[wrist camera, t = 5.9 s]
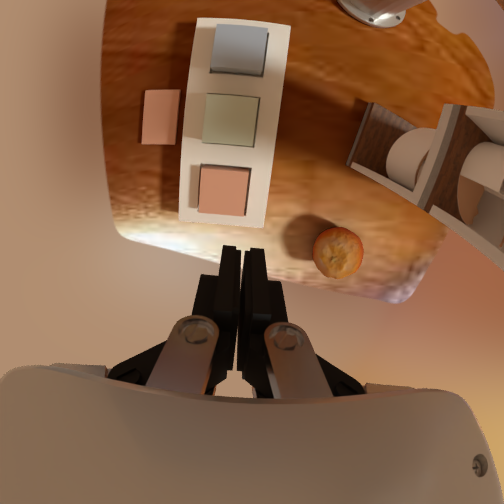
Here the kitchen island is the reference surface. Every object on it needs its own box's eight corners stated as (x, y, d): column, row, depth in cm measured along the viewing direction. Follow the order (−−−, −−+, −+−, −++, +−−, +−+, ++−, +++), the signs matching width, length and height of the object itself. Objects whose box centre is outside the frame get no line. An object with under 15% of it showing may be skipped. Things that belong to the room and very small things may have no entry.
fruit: (358, 270, 45) (350, 292, 39) (317, 255, 48) (302, 274, 42) (372, 227, 41) (367, 243, 35) (328, 212, 44) (314, 225, 38)
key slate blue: (218, 31, 26) (216, 23, 23) (265, 35, 27) (268, 28, 24) (212, 71, 29) (210, 66, 26) (260, 75, 29) (262, 70, 26)
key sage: (209, 96, 30) (206, 93, 28) (256, 100, 31) (258, 98, 28) (205, 140, 33) (201, 142, 30) (251, 144, 34) (252, 146, 31)
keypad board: (200, 25, 27) (197, 17, 25) (286, 32, 28) (290, 26, 26) (182, 213, 41) (178, 220, 38) (261, 220, 42) (263, 228, 39)
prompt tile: (147, 90, 32) (145, 90, 31) (180, 90, 32) (179, 89, 31) (143, 143, 35) (141, 144, 35) (176, 144, 36) (174, 144, 35)
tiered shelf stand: (422, 135, 35) (612, 216, 4) (401, 191, 40) (567, 325, 9) (368, 102, 33) (602, 142, 2) (345, 164, 38) (546, 313, 7)
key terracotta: (204, 164, 36) (201, 168, 33) (248, 168, 36) (248, 172, 34) (201, 205, 39) (198, 212, 36) (243, 208, 39) (243, 216, 36)
